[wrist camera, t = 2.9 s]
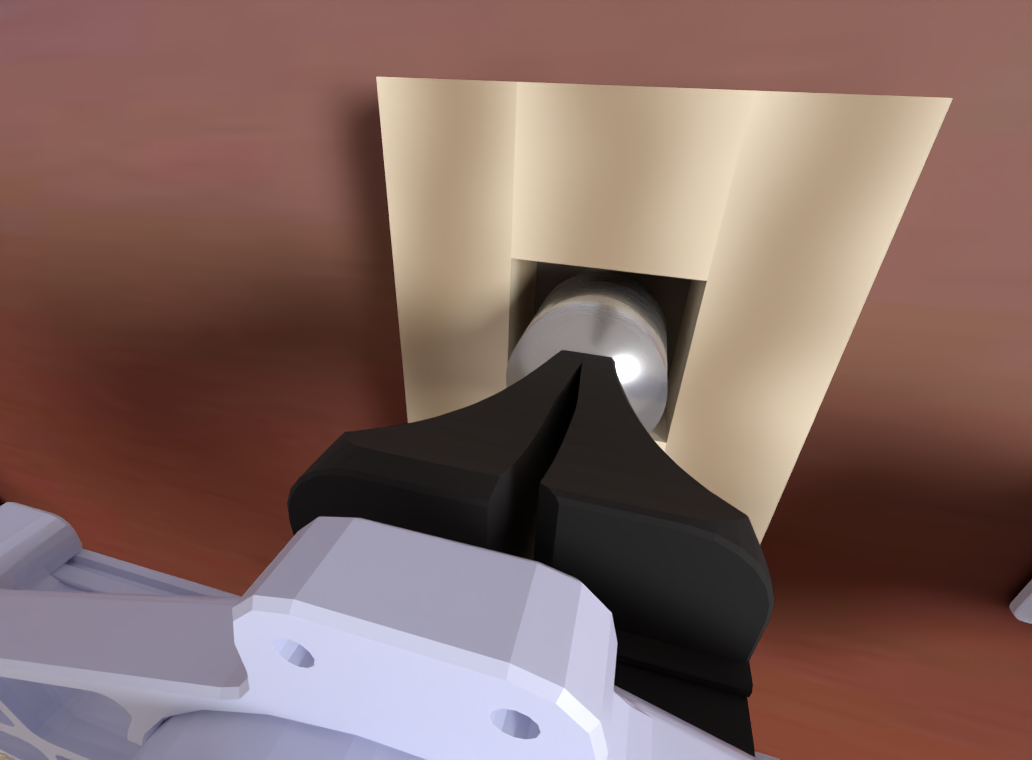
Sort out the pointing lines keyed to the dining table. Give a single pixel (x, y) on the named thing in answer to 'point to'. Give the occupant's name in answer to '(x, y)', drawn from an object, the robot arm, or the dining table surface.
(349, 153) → the dining table surface
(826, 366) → the board
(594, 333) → the grey peg
